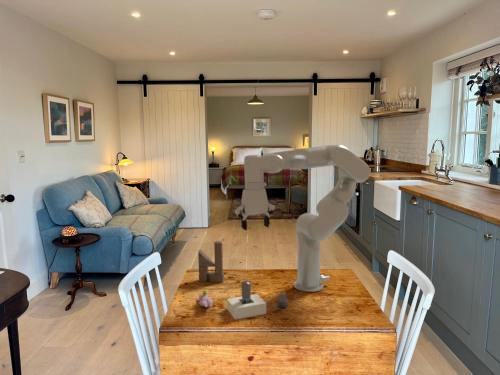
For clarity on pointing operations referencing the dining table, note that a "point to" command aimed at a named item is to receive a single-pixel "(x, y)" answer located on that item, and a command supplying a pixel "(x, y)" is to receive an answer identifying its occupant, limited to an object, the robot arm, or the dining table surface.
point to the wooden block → (211, 265)
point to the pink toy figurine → (205, 300)
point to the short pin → (282, 301)
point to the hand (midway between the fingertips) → (255, 227)
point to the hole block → (246, 307)
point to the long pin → (246, 292)
